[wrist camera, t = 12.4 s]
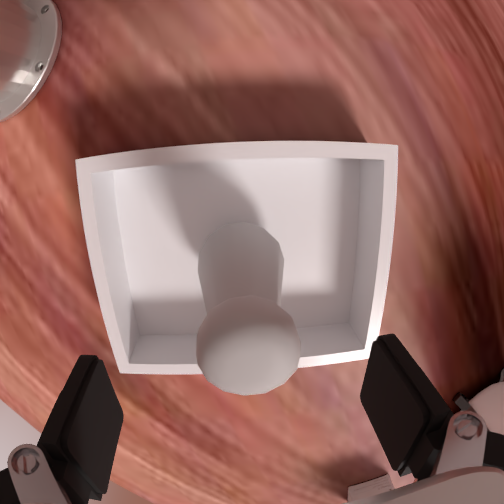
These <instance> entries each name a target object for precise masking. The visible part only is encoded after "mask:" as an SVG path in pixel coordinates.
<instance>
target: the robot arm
mask: <svg viewBox="0 0 504 504" xmlns="http://www.w3.org/2000/svg"><path fill="white" fill-rule="evenodd" d="M61 36H62V20H61V16H60V12H59V10H58V8H57V6H56V4H55V3H54V2H53V1H52V0H0V122H3V121H6V120H8V119H9V118H11V117H13V116H15V115H16V114H17V113H19V112H20V111H21V110H22V109H24V108H25V107H26V106H27V105H28V103H29V102H30V101H31V100H32V99H33V98H34V97H35V95H36V94H37V93H38V91H39V90H40V89H41V87H42V86H43V84H44V82H45V81H46V79H47V77H48V75H49V74H50V71H51V69H52V67H53V65H54V62H55V60H56V57H57V54H58V50H59V47H60V41H61ZM360 399H361V402H362V405H363V407H364V409H365V411H366V413H367V415H368V417H369V420H370V422H371V424H372V426H373V428H374V430H375V432H376V434H377V437H378V439H379V441H380V443H381V445H382V447H383V450H384V452H385V454H386V456H387V458H388V461H389V463H390V465H391V467H392V469H393V470H394V471H398V473H399V475H400V477H401V476H404V475H407V474H410V473H412V474H413V476H414V478H415V480H414V483H412V484H409V485H406V486H403V487H400V488H397V489H394V490H390V491H387V492H384V493H380V494H377V495H374V496H370V497H367V498H363V499H359V500H355V501H351V502H347V503H343V504H504V435H502V434H499V433H495V432H491V431H487V425H486V423H485V420H484V419H483V418H482V417H481V416H480V415H478V414H477V413H474V412H472V411H460V412H458V413H456V414H453V412H452V411H451V410H450V408H449V407H448V405H447V404H446V402H445V401H444V400H443V398H442V397H441V395H440V394H439V393H438V391H437V390H436V388H435V387H434V386H433V384H432V383H431V381H430V380H429V379H428V377H427V376H426V375H425V373H424V372H423V371H422V369H421V368H420V367H419V366H418V364H417V363H416V362H415V360H414V359H413V358H412V356H411V355H410V354H409V352H408V351H407V350H406V348H405V347H404V346H403V345H402V343H401V342H400V341H399V339H398V338H397V337H396V335H395V334H387V335H381V336H378V337H377V339H376V341H373V343H372V347H371V351H370V356H369V360H368V365H367V369H366V373H365V377H364V381H363V385H362V389H361V393H360ZM122 423H123V411H122V408H121V406H120V403H119V401H118V399H117V396H116V394H115V391H114V389H113V386H112V384H111V381H110V379H109V376H108V374H107V371H106V368H105V366H104V363H103V361H102V360H99V359H98V357H97V356H96V355H80V357H79V358H78V360H77V362H76V364H75V366H74V368H73V370H72V372H71V374H70V376H69V378H68V380H67V382H66V384H65V386H64V388H63V390H62V391H61V393H60V394H59V397H58V399H57V401H56V403H55V405H54V407H53V409H52V412H51V414H50V416H49V418H48V421H47V423H46V425H45V427H44V430H43V432H42V434H41V437H40V439H39V441H38V444H37V446H35V445H32V444H24V445H20V446H18V447H16V448H15V449H14V450H13V451H12V452H11V453H10V455H9V458H8V462H7V463H8V468H6V469H4V470H2V471H0V504H88V501H89V499H94V500H99V501H101V498H102V494H105V493H106V492H107V489H108V484H109V479H110V474H111V470H112V465H113V461H114V456H115V452H116V448H117V443H118V439H119V435H120V431H121V427H122Z"/></svg>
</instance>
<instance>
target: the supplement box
mask: <svg viewBox="0 0 504 504" xmlns="http://www.w3.org/2000/svg"><path fill="white" fill-rule="evenodd" d="M390 490H394V486H393V483H392V481H391V478H390V476H389V474H387V475H385V476H382V477H379V478H377V479H374V480H371V481H367V482H364V483H361V484H358V485H354V486H349V487H348V502H351V501H355V500H359V499H363V498H367V497H370V496H374V495H377V494H380V493H384V492H387V491H390Z"/></svg>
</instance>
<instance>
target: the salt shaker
mask: <svg viewBox="0 0 504 504" xmlns="http://www.w3.org/2000/svg"><path fill="white" fill-rule="evenodd" d="M283 269H284V257H283V254H282V251H281V248H280V244H279V242H278V241H277V240H276V239H275V238H274V237H273V236H272V235H270V234H269V233H268V232H267V231H266V230H265V229H264V228H262V227H259V226H256V225H253V224H250V223H247V222H240V223H233V224H226V225H224V226H223V227H221V228H219V229H218V230H216V231H215V232H213V233H212V234H210V235H209V236H208V238H207V240H206V241H205V243H204V245H203V247H202V248H201V250H200V252H199V258H198V275H199V280H200V285H201V289H202V294H203V299H204V303H205V308H206V312H207V316H206V317H205V319H204V320H203V322H202V324H201V325H200V327H199V329H198V334H197V344H196V358H197V364H198V366H199V368H200V370H201V371H202V373H203V374H204V376H205V378H206V379H207V381H209V382H210V383H212V384H213V385H215V386H216V387H218V388H219V389H221V390H222V391H225V392H230V393H235V394H240V395H254V394H262V393H266V392H268V391H270V390H272V389H274V388H276V387H278V386H280V385H282V384H284V383H285V382H286V381H287V380H288V379H289V378H290V377H291V375H292V374H293V373H294V372H295V371H296V370H297V368H298V363H299V359H300V354H301V341H300V338H299V335H298V332H297V329H296V326H295V323H294V321H293V319H292V317H291V316H290V315H289V314H288V313H287V312H286V311H284V310H283V309H282V308H281V291H282V280H283Z"/></svg>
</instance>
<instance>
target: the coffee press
mask: <svg viewBox="0 0 504 504" xmlns="http://www.w3.org/2000/svg"><path fill="white" fill-rule="evenodd" d="M503 377H504V368H503V369H502V370H501V373H500V380H499V382H498V383H495V384H493V385H490V386H489V387H487V388H485V389H484V390H482V391H481V392H480V393H478V394H477V395H476V396H475V397H473V398H472V399H471V400H469V399H467V398H466V397H465V396H464V395H463V394H462V393H460V392H459V393H458V394H457V395H456V396H455V397H454V399H453V401H454V402H455V403H456V405H458V406H459V407H460V408H461V411H472V412H474V413H477V414H478V415H480V416H481V417H482V418H483V419H484V420H485V423H486V425H487V431H491V432H495V433H499V434H502V435H504V382H503Z"/></svg>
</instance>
